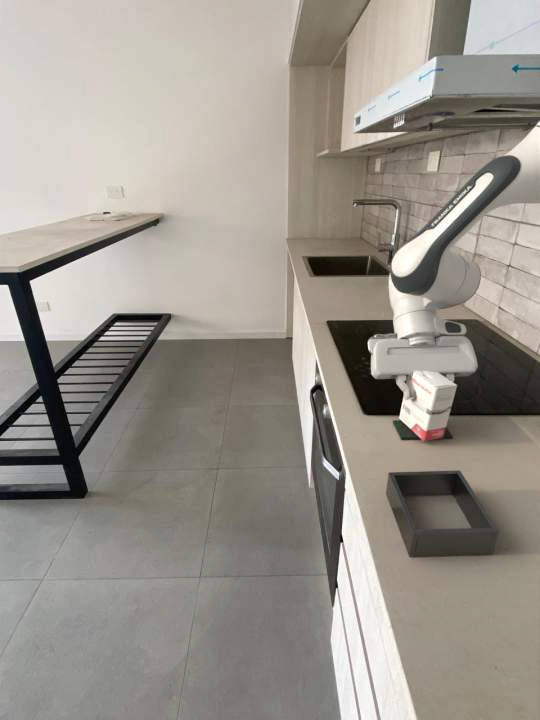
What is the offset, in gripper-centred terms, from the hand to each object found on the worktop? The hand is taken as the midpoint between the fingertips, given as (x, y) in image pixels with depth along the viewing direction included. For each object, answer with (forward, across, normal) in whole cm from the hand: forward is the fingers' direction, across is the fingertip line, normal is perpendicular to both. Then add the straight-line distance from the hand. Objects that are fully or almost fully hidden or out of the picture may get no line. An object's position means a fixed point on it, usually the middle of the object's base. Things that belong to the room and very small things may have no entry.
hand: (428, 398), depth 76 cm
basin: (+21, -6, -10) cm, 24 cm away
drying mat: (+5, 0, +6) cm, 8 cm away
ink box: (+5, 0, +5) cm, 7 cm away
